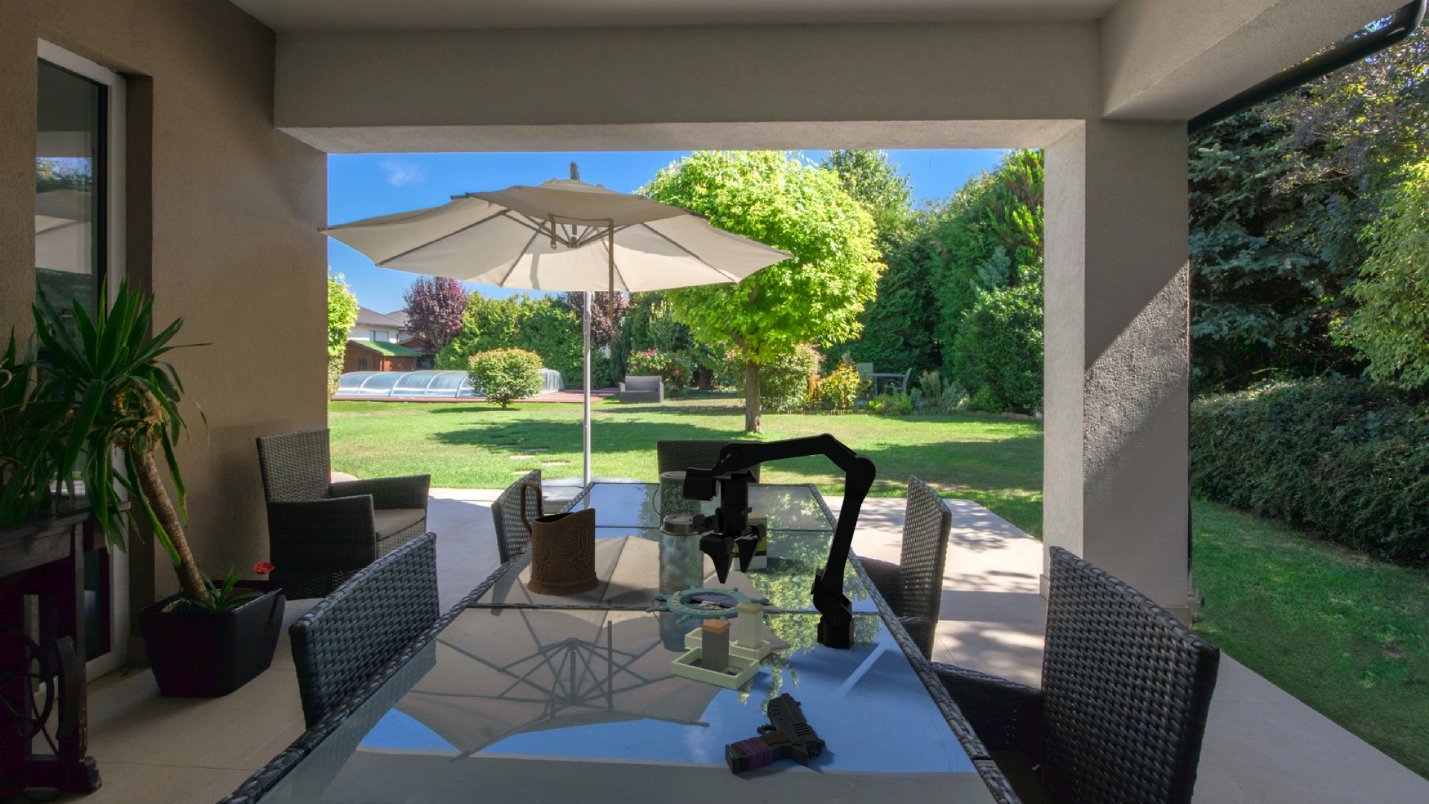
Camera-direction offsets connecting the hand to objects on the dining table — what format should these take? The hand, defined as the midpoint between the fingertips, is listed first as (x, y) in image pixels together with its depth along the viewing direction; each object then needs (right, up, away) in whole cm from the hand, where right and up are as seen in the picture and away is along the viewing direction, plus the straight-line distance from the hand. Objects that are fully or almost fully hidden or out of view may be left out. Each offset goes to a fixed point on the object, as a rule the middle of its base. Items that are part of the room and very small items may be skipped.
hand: (733, 578), depth 156 cm
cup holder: (-45, -11, +39) cm, 60 cm away
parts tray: (-4, -14, -18) cm, 23 cm away
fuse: (+3, -13, -9) cm, 16 cm away
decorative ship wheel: (-5, -13, +21) cm, 25 cm away
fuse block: (-1, -13, -7) cm, 15 cm away
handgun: (+4, -16, -39) cm, 43 cm away
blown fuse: (-4, -13, -18) cm, 23 cm away
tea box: (+4, -10, +61) cm, 62 cm away
